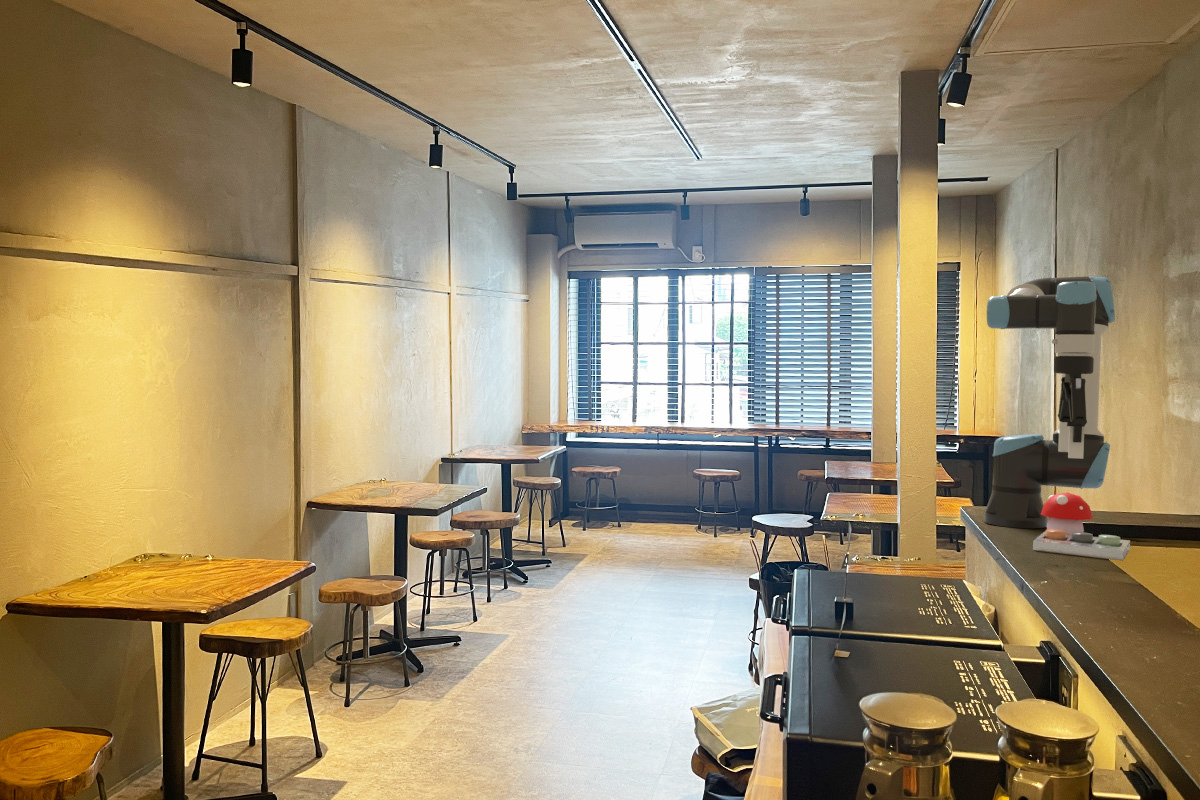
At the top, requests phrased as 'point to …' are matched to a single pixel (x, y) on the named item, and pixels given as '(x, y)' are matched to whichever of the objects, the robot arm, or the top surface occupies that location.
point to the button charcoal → (1082, 537)
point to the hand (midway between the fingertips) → (1070, 455)
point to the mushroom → (1066, 512)
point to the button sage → (1109, 540)
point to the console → (1082, 547)
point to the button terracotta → (1055, 534)
